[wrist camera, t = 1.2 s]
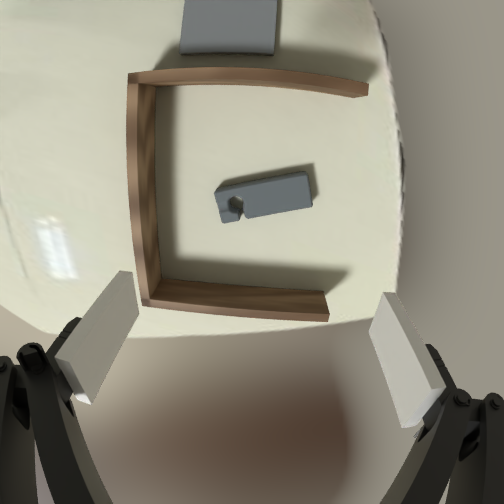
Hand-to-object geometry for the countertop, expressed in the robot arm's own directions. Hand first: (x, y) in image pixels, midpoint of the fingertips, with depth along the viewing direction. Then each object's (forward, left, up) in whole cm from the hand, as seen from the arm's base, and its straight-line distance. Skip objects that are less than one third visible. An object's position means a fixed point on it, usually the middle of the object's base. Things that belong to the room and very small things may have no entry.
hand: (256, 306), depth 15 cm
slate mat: (-23, -5, -20) cm, 31 cm away
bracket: (0, 0, -21) cm, 21 cm away
